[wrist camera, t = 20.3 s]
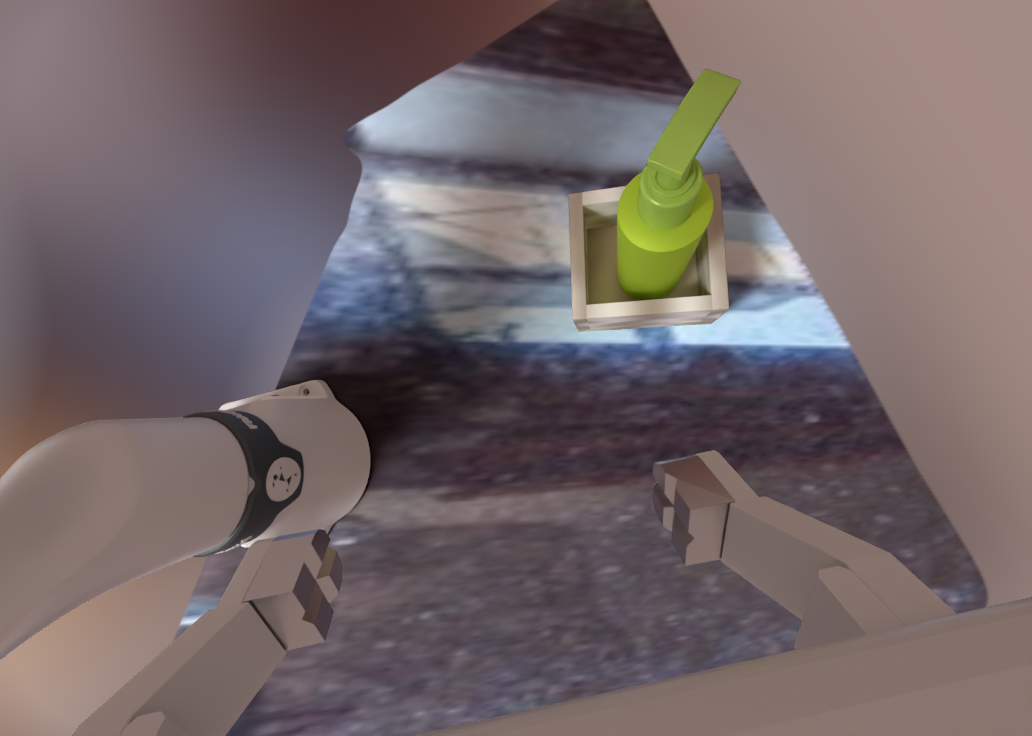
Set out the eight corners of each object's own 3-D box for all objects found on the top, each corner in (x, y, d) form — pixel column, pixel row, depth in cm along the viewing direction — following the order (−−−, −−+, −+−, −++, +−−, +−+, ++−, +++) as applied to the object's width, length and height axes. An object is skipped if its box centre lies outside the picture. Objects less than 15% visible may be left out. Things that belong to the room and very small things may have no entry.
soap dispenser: (699, 249, 38) (787, 86, 18) (659, 312, 38) (704, 219, 19) (643, 222, 39) (669, 45, 20) (605, 284, 40) (595, 169, 20)
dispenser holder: (579, 331, 41) (572, 319, 35) (575, 224, 42) (568, 194, 36) (711, 323, 38) (729, 308, 32) (703, 207, 39) (719, 172, 33)
